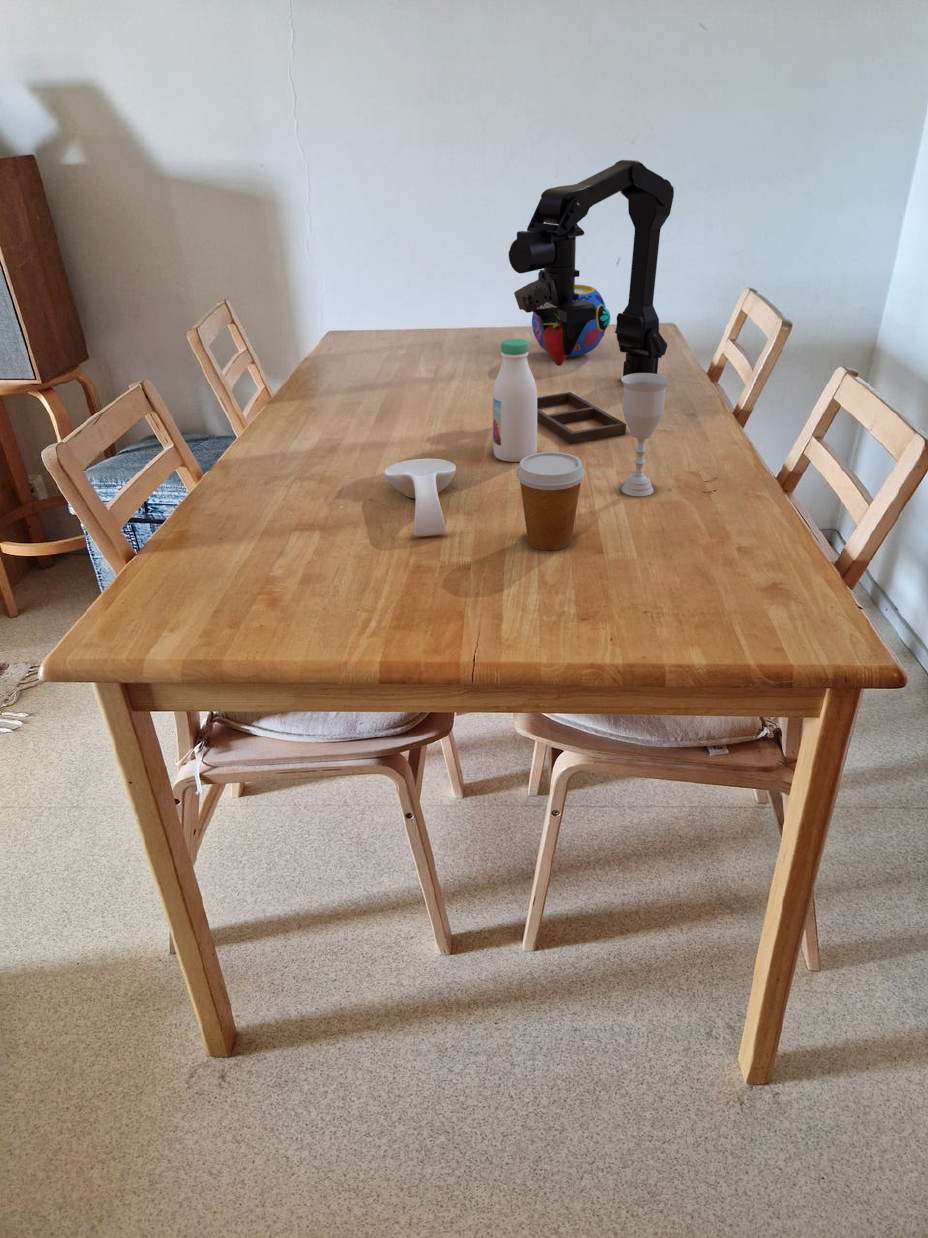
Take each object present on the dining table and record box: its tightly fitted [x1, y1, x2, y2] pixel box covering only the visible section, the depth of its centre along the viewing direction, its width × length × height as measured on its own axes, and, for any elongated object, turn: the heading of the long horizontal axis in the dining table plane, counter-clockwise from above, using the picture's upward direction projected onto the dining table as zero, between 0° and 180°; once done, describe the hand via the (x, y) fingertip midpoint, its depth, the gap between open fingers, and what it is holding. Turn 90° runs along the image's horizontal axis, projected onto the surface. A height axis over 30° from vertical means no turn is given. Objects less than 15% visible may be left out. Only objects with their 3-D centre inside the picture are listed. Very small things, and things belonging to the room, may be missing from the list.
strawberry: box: [543, 313, 568, 367], centre depth 172 cm, size 6×8×10 cm
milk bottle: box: [492, 338, 538, 463], centre depth 154 cm, size 8×8×20 cm
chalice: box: [620, 373, 671, 497], centre depth 140 cm, size 7×7×18 cm
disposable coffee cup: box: [516, 451, 586, 551], centre depth 127 cm, size 10×10×12 cm
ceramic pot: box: [531, 284, 611, 358], centre depth 210 cm, size 18×18×15 cm
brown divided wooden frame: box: [537, 391, 627, 445], centre depth 173 cm, size 11×22×2 cm, turn 22°
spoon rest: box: [383, 458, 457, 537], centre depth 140 cm, size 24×12×7 cm, turn 8°
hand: (558, 350), depth 173 cm, fingers closed on strawberry, 7 cm apart
